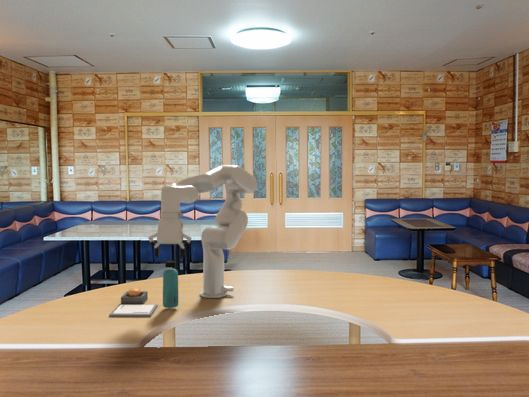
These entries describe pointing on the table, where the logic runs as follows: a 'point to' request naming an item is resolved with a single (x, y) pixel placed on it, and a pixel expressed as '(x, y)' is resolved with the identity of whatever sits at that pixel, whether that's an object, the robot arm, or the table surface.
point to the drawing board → (133, 310)
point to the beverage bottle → (170, 286)
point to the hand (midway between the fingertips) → (169, 257)
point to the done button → (134, 292)
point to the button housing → (134, 298)
